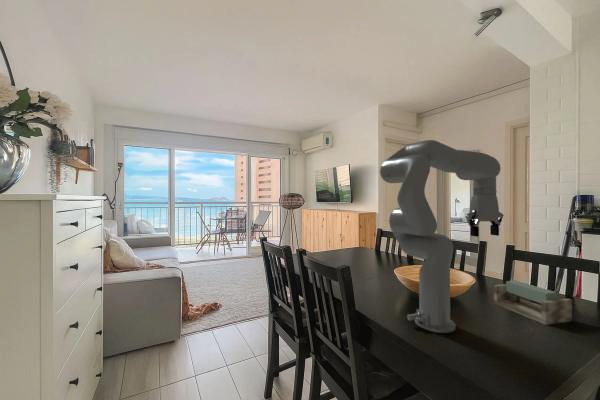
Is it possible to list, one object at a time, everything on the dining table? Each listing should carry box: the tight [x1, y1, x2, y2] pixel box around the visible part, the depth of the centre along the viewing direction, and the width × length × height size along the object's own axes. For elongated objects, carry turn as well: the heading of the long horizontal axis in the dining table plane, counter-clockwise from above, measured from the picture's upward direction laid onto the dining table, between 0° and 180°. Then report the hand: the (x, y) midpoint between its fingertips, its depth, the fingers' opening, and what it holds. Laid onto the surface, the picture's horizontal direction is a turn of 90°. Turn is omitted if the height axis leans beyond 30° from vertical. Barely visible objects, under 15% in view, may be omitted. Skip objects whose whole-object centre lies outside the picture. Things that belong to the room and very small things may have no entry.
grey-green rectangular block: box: [505, 280, 557, 305], centre depth 100 cm, size 14×5×4 cm, turn 13°
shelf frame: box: [493, 283, 573, 326], centre depth 100 cm, size 12×19×8 cm, turn 12°
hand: (484, 235), depth 105 cm, fingers open, 9 cm apart
